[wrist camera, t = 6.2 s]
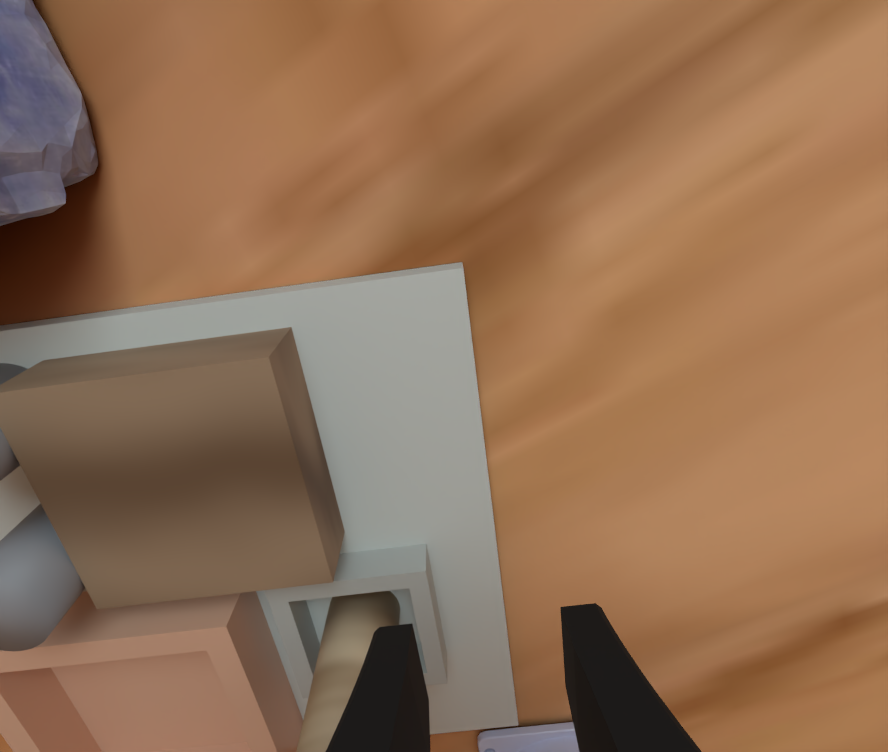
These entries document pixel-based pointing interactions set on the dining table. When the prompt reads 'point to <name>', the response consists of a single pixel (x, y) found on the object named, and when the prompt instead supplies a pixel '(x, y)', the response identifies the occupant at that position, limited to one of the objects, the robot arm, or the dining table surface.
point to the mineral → (38, 118)
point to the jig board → (350, 466)
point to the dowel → (342, 661)
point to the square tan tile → (179, 467)
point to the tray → (152, 681)
